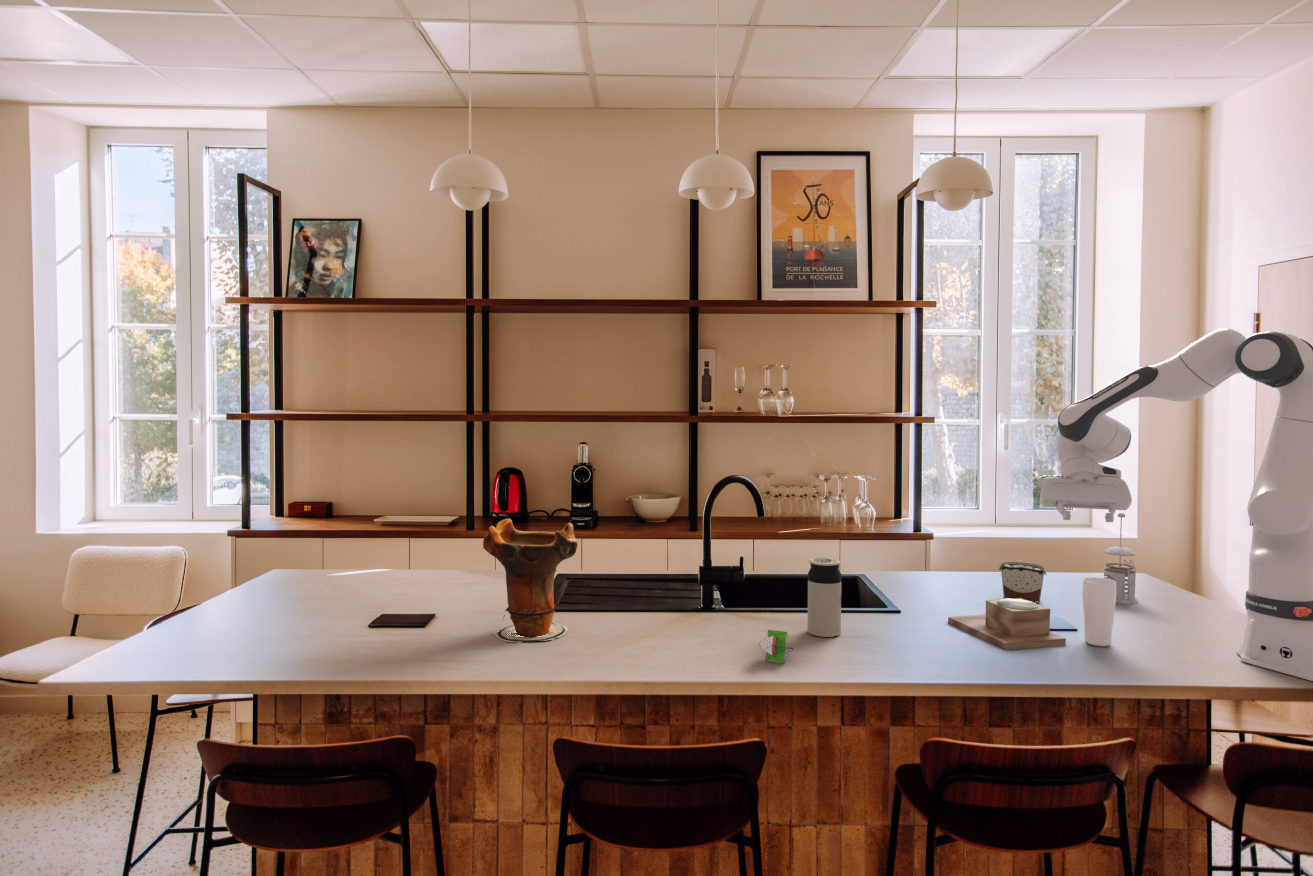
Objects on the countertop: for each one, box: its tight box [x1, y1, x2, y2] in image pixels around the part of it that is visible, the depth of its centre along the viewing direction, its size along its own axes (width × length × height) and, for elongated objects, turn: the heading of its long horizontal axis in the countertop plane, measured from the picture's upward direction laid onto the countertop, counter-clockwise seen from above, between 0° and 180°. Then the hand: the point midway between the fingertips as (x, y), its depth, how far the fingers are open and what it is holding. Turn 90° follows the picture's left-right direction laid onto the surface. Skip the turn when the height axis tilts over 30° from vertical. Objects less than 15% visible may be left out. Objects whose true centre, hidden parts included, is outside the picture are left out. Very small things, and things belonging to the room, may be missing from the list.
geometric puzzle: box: [758, 629, 794, 665], centre depth 164 cm, size 7×7×8 cm
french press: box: [1103, 512, 1140, 604], centre depth 215 cm, size 10×12×25 cm
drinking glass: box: [1082, 577, 1116, 648], centre depth 176 cm, size 7×7×15 cm
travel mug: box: [807, 557, 842, 638], centre depth 184 cm, size 8×8×18 cm
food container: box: [998, 561, 1047, 602], centre depth 218 cm, size 12×6×10 cm, turn 58°
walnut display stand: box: [947, 598, 1067, 651], centre depth 184 cm, size 22×16×8 cm
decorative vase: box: [482, 518, 579, 644], centre depth 185 cm, size 21×23×28 cm
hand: (1088, 519), depth 187 cm, fingers open, 8 cm apart
